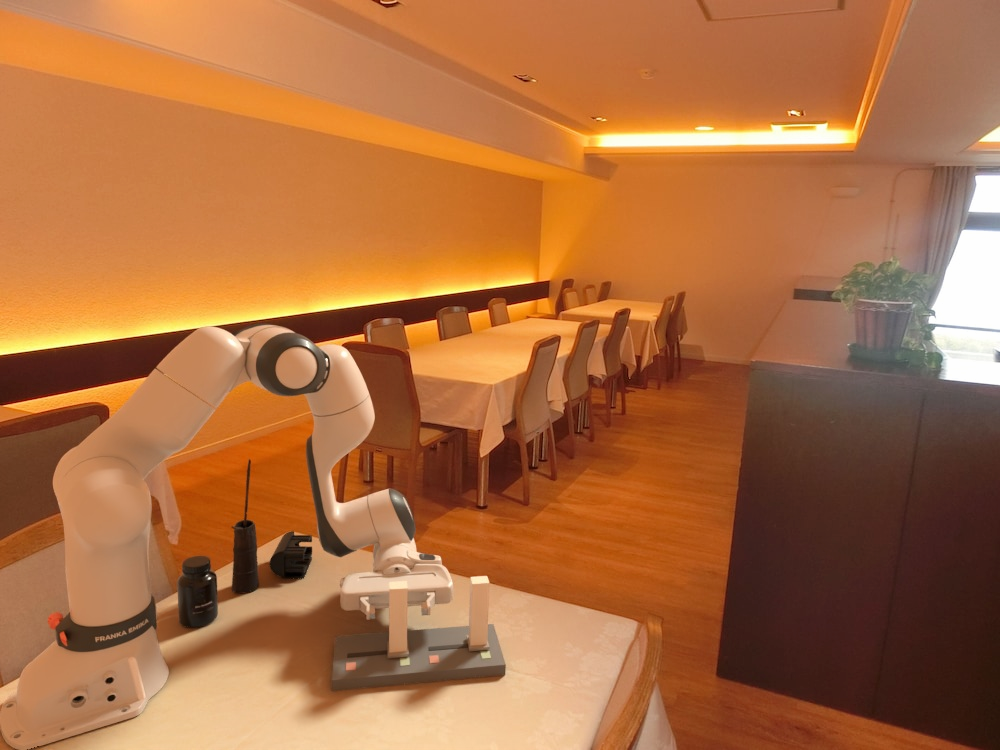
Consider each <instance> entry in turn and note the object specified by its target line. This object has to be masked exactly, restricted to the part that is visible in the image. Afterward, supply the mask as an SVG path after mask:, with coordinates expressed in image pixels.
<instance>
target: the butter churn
mask: <svg viewBox="0 0 1000 750" xmlns="http://www.w3.org/2000/svg"><path fill="white" fill-rule="evenodd" d="M251 462H252V461H251V459H248V463H247V469H246V486H245V500H244V514H243V515H244V517H243V519H242V520H238V522H236V524H235V525H231V529H233V530H234V531H233V534H234V535H233V536H234V537H233V547H232V552H233V560H232V561H233V564H232V581H231V590H232V592H233V593H234V594H240V593H241V594H248V593H252V592H255V591H256V590H258V589H259V570H258V569H259V565H258V544H257V542H258V541H257V539H258V538H257V531H256V524H255V522H254V521H253V520H249V519H247V518H248V514H247V513H248V510H249V509H248V505H249V493H250V490H249V489H250V480H251V479H250V477H251Z"/></svg>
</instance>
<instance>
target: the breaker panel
mask: <svg viewBox="0 0 1000 750" xmlns="http://www.w3.org/2000/svg"><path fill="white" fill-rule="evenodd" d="M466 635H469V625H464V626H462V625H460V626H449V627H448V626H446V627H438V628H436V627H434V628H423V629H421V628H420V629H409V630H408V629H407V640H408V649H409V656H408V657H396V658H388V652H387V641H389V631H383V632H373V633H372V632H370V633H359V634H358V633H357V634H346V635H345V634H344V635H335V640H334V649H333V650H334V651H333V659H332V660H333V661H332V668H331V670H332V671H331V680H330V681H331V684H330V685H331V692H334V691H347V690H356V689H357V690H358V689H367V688H369V689H370V688H378V687H379V688H380V687H390V686H391V687H392V686H399V685H400V686H401V685H410V684H411V685H412V684H420V683H421V684H422V683H424V684H425V683H433V682H443V681H453V680H454V681H455V680H464V679H465V680H466V679H474V678H475V679H477V678H487V677H497V676H498V677H499V676H505V675H506V672H507V671H506V670H507V667H506V666H507V665H506V661H505V657H504V654H503V651H502V647H501V643H500V641H499V638H498V634H497V631H496V628H495V625H494V623H488V635H487V640H488V643H489V647H490V649H489V650H478V651H469V648H468V643H467V639H466Z"/></svg>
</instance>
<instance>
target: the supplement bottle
mask: <svg viewBox="0 0 1000 750" xmlns="http://www.w3.org/2000/svg"><path fill="white" fill-rule="evenodd" d="M181 565H182V566H181V567H182V569H181V575H180V576H179V577H178V579H177V584H176V587H177V590H176V591H177V607H178V608H177V609H178V611H177V612H178V620H179V621H178V622H179V624H180V625H181V626H183V627H184V628H187V629H188V628H189V629H197V628H198V629H199V628H202V627H206V626H208V625H210V624H211V623H214V621H216V619H217V617H218V616H219V615H218V614H219V599H218V576H217V574H216V572H215V571H214V570H213V569H212V564H211V558H210V557H209V556H206V555H194V556H191V557H188V558H186V559H184V560H183V561H182V564H181Z"/></svg>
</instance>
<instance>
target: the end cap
mask: <svg viewBox="0 0 1000 750" xmlns="http://www.w3.org/2000/svg"><path fill="white" fill-rule="evenodd" d="M312 542H313V535H312V534H304V535H303V534H295V531H293V530H291V531H288V532H286V533H285V534H283V536H282V537H281V538H280V540H279V543H278V544H277V546H276V548H275V550H274V551H273V554H272V555H271V558H270V560H269V569H270V570H271V572H272V573H273V574H274V575H276V576H278V577H279V578H281V579H284V580H302V578H303V579H304V577H306V576H307V573H308V571H309V567H310V566H309V565H311V563H312V559H313V557H312V555H313V546H306V545H305V546H301V545H300V544H301V543H312ZM307 570H308V571H307ZM305 575H306V576H305ZM293 578H294V579H293ZM298 578H299V579H298ZM300 578H301V579H300Z"/></svg>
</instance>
